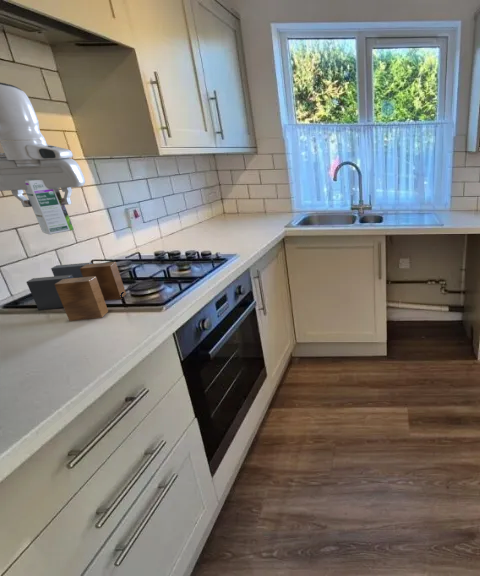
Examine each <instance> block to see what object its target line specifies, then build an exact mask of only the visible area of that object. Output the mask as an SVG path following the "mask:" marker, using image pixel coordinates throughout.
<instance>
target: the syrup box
mask: <svg viewBox="0 0 480 576" xmlns="http://www.w3.org/2000/svg"><path fill="white" fill-rule="evenodd" d="M25 183H26V186H27V190H24V191H25V194H26V196H27V199H28V200H29V201H30V203H31V206H32V207H31V208H32V211H33V213H34V215H35V218H36V220H37V222H38V225H39V227H40V230H41V232H42V233H43V234H47V235H51V236H52V235H54V234H59V233H66V232H71V231H74V226H73V224H72V220H71V218H70V216H69V213H68V210H67V208H66V205H63V204H62V201H61V198H63V197H62V195H61V192H60V188H47V187H46V186H45V184H44V182H43V180H25Z"/></svg>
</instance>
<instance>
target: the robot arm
mask: <svg viewBox="0 0 480 576" xmlns="http://www.w3.org/2000/svg"><path fill="white" fill-rule="evenodd" d="M0 146H1V148H2V151H3V152H0V192H6V191H8V192H9V191H10V192H11V195H13V197H15V198H16V199H17V200H18V201H20V203H21V205H22V207H23V208H32V206H31V203H30V201H29V199H28V197H26V196H25V195H23V194H24V191H25V190H27V186H26V183H25V180H43V182H44V184H45V186H46V187H47V188H58V189H60V190H61V192H62V193H64V194H63V197H62V198H61V201H62V204H63V205H65V206H68V205H72V200H71V196H72V194H73V189H72V188H80V187H84V186H85V184H86V177H85V176H84V174H83V171H82V169H81V167H80V165H79V163H78V162H77V161H76V160H75V159H73V157H74V156H73V155H74V154H73V152H72V150H71V149H68V148H64V147H59V146H55V145H51V144H48V143H47V140H46V138H45V135H44V134H42V131H41V130H40V122H39V118H38V116H37V113H36V111H35V109H34V106H33V104H32V102H31V100H30V98H29V96H28V95H27V94H26V92H25V91H24V90H22V89H21V88H19V87H18V86H16V85H13V84H9V83H6V82H1V81H0Z"/></svg>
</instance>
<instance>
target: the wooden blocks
mask: <svg viewBox="0 0 480 576" xmlns="http://www.w3.org/2000/svg"><path fill="white" fill-rule="evenodd" d="M80 270H81V273H82V276H83V277H81V278H70V279H62V280H61V281H59V282H57V283H56V284H54V285H55V287H56V290H57V292H58V294H59V297H60V299H61V302H62V304H63V309H64V311H65V314H66V316H67V319H68V322H75V321H83V320H91V319H100V318H103V317H104V316H106V314H108V313H109V309H108V307H107V306H108V305H107V303H106V302H107V301H115V300H122V299H123V298H124V297H125V296H126V295H127V292H126V289H125V286H124V283H123V280H122V277H121V273H120V270H119V268H118V264H117V262H116V261H109V262H108V261H107V262H98V263H92V264H86V265H85V266H83V267H81V268H80ZM122 292H124V293H123V294H122V297H123V298H121V296H120V295H121V293H122Z"/></svg>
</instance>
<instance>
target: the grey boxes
mask: <svg viewBox="0 0 480 576" xmlns="http://www.w3.org/2000/svg"><path fill="white" fill-rule="evenodd" d="M86 264H93V263H92V262H80V263H79V262H78V263H69V264H58V265H54V266H53V267H51V268H50V270H51V273H52V275H53V276H44V277H34V278H33V277H32V278H31V279H29V280H27V281H26V282H25V283H26V285H27V288H28V289H29V292H30V294H31V296H32V298H33V301H34V303H35V305H36V307H37V310H38V311H43V310H44V311H45V310H51V309H62V308H63V309H64V307H63V304H62V302H61V299H60V297H59V294H58V292H57V290H56V287H55V285H54V284H56V283H57V282H59V281H61V280H62V279H70V278H81V277H83V276H82V273H81V270H80V268H81V267H83V266H85V265H86Z"/></svg>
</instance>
